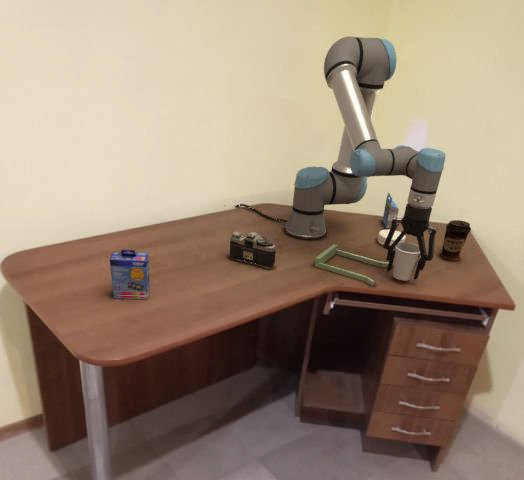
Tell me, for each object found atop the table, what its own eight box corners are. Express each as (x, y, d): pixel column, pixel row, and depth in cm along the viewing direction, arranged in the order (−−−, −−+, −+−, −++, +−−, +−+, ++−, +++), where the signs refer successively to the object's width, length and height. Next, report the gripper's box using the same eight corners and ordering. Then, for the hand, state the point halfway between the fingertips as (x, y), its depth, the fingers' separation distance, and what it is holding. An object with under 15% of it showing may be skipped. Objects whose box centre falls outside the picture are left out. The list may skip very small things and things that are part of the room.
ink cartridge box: (112, 299, 144) (107, 250, 136) (115, 290, 149) (111, 242, 141) (148, 300, 145) (146, 252, 137) (150, 291, 150) (148, 244, 142)
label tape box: (395, 229, 207) (402, 199, 200) (385, 228, 207) (391, 198, 200) (391, 221, 214) (397, 192, 208) (381, 220, 214) (387, 191, 208)
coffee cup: (462, 264, 183) (473, 229, 176) (438, 260, 184) (448, 225, 177) (460, 254, 190) (470, 220, 183) (437, 251, 191) (446, 217, 184)
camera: (282, 260, 175) (285, 231, 169) (269, 271, 167) (272, 242, 161) (240, 249, 180) (242, 221, 174) (226, 259, 172) (227, 230, 166)
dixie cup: (383, 274, 167) (389, 244, 162) (400, 268, 172) (407, 240, 166) (403, 284, 162) (411, 254, 156) (420, 278, 166) (428, 249, 161)
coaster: (374, 244, 192) (376, 235, 190) (380, 235, 200) (381, 227, 198) (401, 250, 190) (403, 241, 188) (405, 241, 197) (408, 232, 195)
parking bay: (312, 267, 171) (313, 259, 170) (334, 250, 185) (335, 242, 183) (372, 286, 163) (374, 277, 162) (391, 266, 177) (393, 258, 175)
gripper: (381, 199, 155) (367, 269, 168) (452, 216, 147) (431, 288, 160) (389, 193, 160) (375, 261, 173) (458, 209, 152) (437, 279, 165)
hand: (402, 274), depth 166 cm, fingers closed on dixie cup, 8 cm apart
